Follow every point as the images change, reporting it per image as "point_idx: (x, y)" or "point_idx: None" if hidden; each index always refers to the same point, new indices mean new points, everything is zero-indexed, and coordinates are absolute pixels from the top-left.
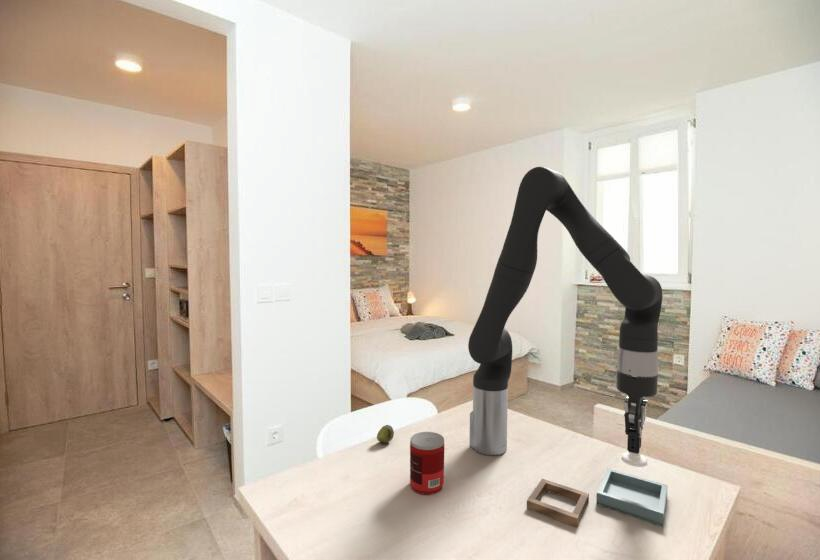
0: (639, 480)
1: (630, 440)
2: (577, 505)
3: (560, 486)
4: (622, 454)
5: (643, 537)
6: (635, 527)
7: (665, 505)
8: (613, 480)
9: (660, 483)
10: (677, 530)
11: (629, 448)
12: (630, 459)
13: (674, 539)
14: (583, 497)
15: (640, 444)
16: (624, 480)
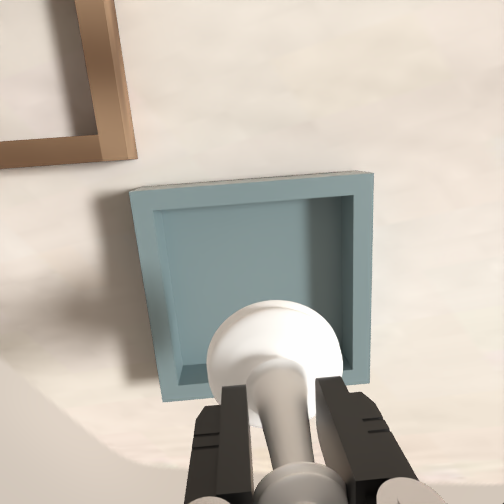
0: (350, 299)
1: (189, 482)
2: (5, 146)
3: (89, 30)
4: (271, 315)
5: (74, 344)
6: (106, 318)
7: None
8: (340, 200)
9: (366, 363)
10: (181, 405)
11: (196, 420)
12: (221, 369)
13: (131, 405)
14: (82, 148)
15: (324, 457)
16: (345, 242)
